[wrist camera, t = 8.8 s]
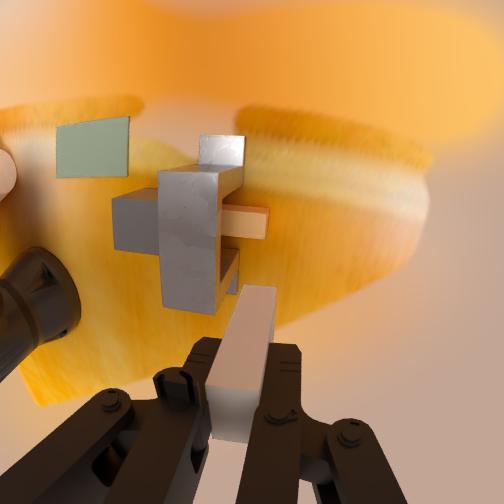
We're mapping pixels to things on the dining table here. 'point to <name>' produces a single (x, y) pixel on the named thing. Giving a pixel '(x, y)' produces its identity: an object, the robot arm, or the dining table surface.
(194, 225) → the housing
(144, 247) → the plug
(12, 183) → the mug
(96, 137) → the pad
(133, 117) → the dining table surface
